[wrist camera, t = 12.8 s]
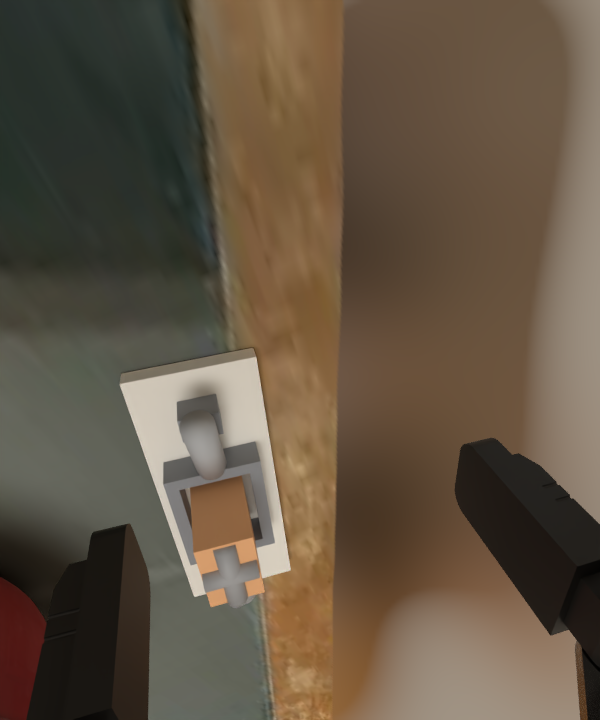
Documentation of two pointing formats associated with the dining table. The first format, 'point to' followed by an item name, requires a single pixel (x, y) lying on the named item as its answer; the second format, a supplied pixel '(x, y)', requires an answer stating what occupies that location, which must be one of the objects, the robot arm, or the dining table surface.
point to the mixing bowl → (18, 650)
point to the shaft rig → (208, 446)
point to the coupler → (225, 542)
